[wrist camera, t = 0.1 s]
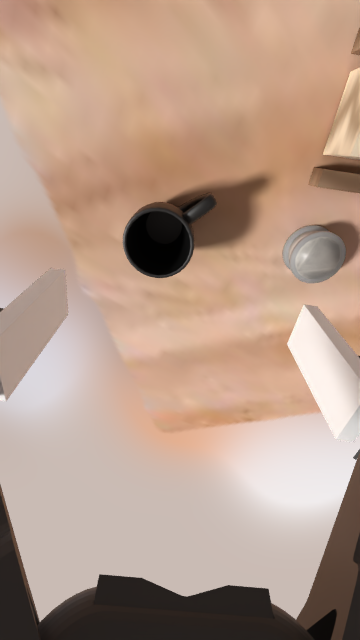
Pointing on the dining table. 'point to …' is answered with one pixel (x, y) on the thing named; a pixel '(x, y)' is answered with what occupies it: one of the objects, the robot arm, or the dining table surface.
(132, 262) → the mug
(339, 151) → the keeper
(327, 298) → the dining table surface
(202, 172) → the dining table surface
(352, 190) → the channel
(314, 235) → the gray yo-yo
